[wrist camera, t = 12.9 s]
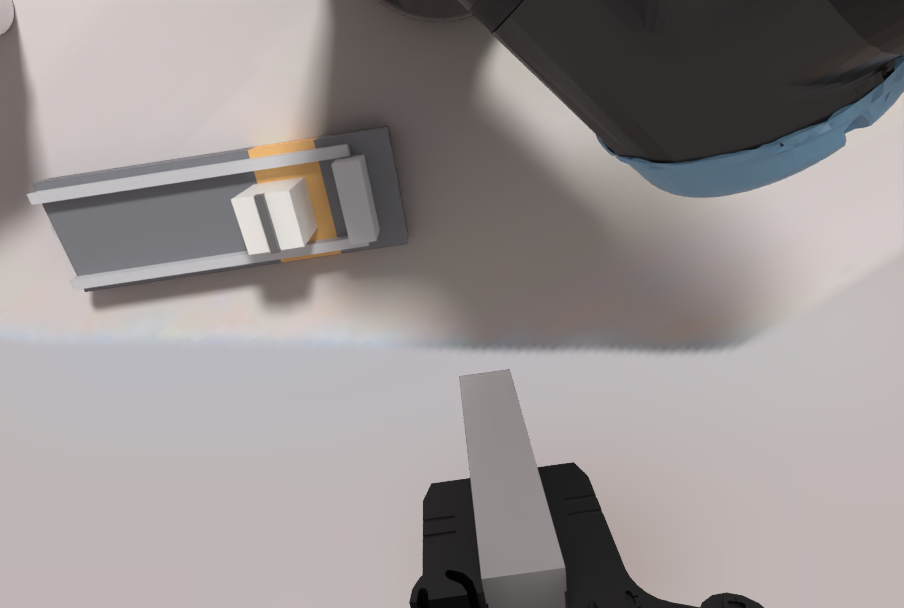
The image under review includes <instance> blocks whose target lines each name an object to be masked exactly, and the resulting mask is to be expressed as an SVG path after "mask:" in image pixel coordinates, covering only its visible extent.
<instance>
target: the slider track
mask: <svg viewBox="0 0 904 608" xmlns="http://www.w3.org/2000/svg"><path fill="white" fill-rule="evenodd" d="M300 177H305V179H306V183H307V187H308V191H309V194H310V198H311V202H312V206H313V210H314V214H315V217H316V221H317V225H318V228H317V229H316V231H315V232H314V233H313V235H312V236H311V238H310V239H309V241H308V242H307V244H306V245H305V247H299V248H292V249H285V250H281V251H280V253H274V254H271V252H265V253H259V254H252V255H249V254H248V251H247V247H246V244H245V241H244V238H243V235H242V232H241V229H240V226H239V223H238V220H237V217H236V214H235V211H234V208H233V205H232V202H231V199H232V198H234V197H235V196H237V195H238V194H240V193H242V192H243V191H245V190H246V189H248V188H249V187H251V186H252V185H254V184H260V183H267V182H273V181H280V180H287V179H293V178H300ZM32 184H33V186H34V188H35V190H36V192H32V193H29V194H27V196H28V198H29V200H30V202H31V204H32V205H35V204H41V203H42V205H43V207H44V209H45V211H46V213H47V215H48V217H49V219H50V221H51V223H52V225H53V227H54V229H55V231H56V233H57V235H58V237H59V239H60V242H61V244H62V246H63V248H64V250H65V252H66V254H67V256H68V258H69V260H70V262H71V264H72V266H73V268H74V270H75V272H76V274H77V277H76V278H74V279H72V280H71V281H70V283H71V285H72V287H73V289H74V290H78V289H84V291H85V292H88V291H95V290H101V289H108V288H115V287H121V286H128V285H135V284H141V283H148V282H155V281H161V280H168V279H175V278H181V277H188V276H195V275H201V274H208V273H215V272H221V271H228V270H235V269H241V268H248V267H255V266H261V265H268V264H275V263H281V262H288V261H295V260H301V259H308V258H315V257H321V256H328V255H335V254H341V253H348V252H355V251H361V250H368V249H375V248H381V247H388V246H395V245H401V244H408V232H407V227H406V221H405V216H404V210H403V205H402V200H401V194H400V189H399V183H398V178H397V172H396V167H395V162H394V156H393V151H392V145H391V140H390V134H389V129H388V126H387V127H381V128H374V129H368V130H361V131H355V132H348V133H342V134H335V135H329V136H322V137H316V138H309V139H303V140H296V141H290V142H283V143H277V144H270V145H264V146H257V147H251V148H244V149H238V150H231V151H225V152H218V153H212V154H205V155H199V156H192V157H186V158H179V159H173V160H166V161H160V162H153V163H147V164H140V165H134V166H127V167H121V168H114V169H108V170H101V171H95V172H88V173H82V174H75V175H69V176H62V177H56V178H50V179H46V180H43V181H39V182H36V183H32Z"/></svg>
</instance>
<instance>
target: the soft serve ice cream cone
mask: <svg viewBox="0 0 904 608" xmlns="http://www.w3.org/2000/svg"><path fill="white" fill-rule="evenodd" d="M13 19H14V8H13V3H12V0H0V35H1V34H3V33H5V32H6V31H7V30H8V29H9V28H10V26H11V25H12V22H13Z"/></svg>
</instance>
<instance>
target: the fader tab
mask: <svg viewBox="0 0 904 608" xmlns="http://www.w3.org/2000/svg"><path fill="white" fill-rule="evenodd" d="M231 202H232V205H233V208H234V211H235V214H236V217H237V220H238V223H239V226H240V229H241V232H242V235H243V238H244V241H245V244H246V247H247V251H248V254H249V255H252V254H259V253H265V252H271V254H274V253H280V251H281V250H285V249H292V248H299V247H305V245H306V244H307V242H308V241H309V239H310V238H311V236H312V235H313V233H314V232H315V231H316V229H317V228H318V225H317V221H316V217H315V214H314V210H313V206H312V202H311V198H310V194H309V191H308V187H307V183H306V179H305V177H300V178H293V179H287V180H280V181H273V182H267V183H260V184H254V185H252V186H251V187H249V188H248V189H246V190H245V191H243V192H242V193H240V194H238V195H237V196H235V197H234V198H232V199H231Z"/></svg>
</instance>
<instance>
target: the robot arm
mask: <svg viewBox="0 0 904 608" xmlns="http://www.w3.org/2000/svg"><path fill="white" fill-rule="evenodd" d="M378 1H379V2H381V3H382V4H384V5H385V6H387V7H388V8H390V9H392V10H394V11H396V12H398V13H400V14H403V15H405V16H408V17H411V18H414V19H419V20H424V21H433V22H445V21H454V20H459V19H463V18H466V17H469V16H472V15H474V16H475V17H476V18H477V19H478V20H479V21H481V22H482V23H483V24H484V25H485V26H486V27H487V28H488V29H489V30H490V32H491V33H492V35H493V36H495V37H496V38H497V39H498V40H499V41H500V42H501V43H502V44H503V45H504V46H505V47H506V48H507V49H508V50H509V51H510V52H511V53H512V54H513V55H514V56H515V57H516V58H517V59H518V60H519V61H520V62H522V63H523V64H524V65H525V66H526V67H527V68H528V69H529V70H530V71H531V72H532V73H533V74H534V75H535V76H536V77H537V78H538V79H539V80H540V81H541V82H542V83H543V84H544V85H545V86H546V87H547V88H549V89H550V90H551V91H552V92H553V93H554V94H555V95H556V96H557V97H558V98H559V99H560V100H561V101H562V102H563V103H564V104H565V105H566V106H567V107H568V108H569V109H570V110H571V111H572V112H573V113H574V114H576V115H577V116H578V117H579V118H580V119H581V120H582V121H583V122H584V123H585V124H586V125H587V126H588V127H589V128H590V129H591V130H592V131H593V132H594V133H595V134H596V136H597V139H598V141H599V142H600V143H601V145H602V146H603V147H604V149H605V150H606V151H607V152H608V153H610V154H611V155H612V156H615V157H617V158H618V159H619V160H620V161H622V162H624V163H627V164H629V165H630V166H631V167H632V168H634V169H635V170H636V171H637V172H638V173H639V174H640V175H642V176H643V177H644V178H645V179H646V180H647V181H649V182H650V183H651V184H652V185H654V186H656V187H658V188H660V189H662V190H664V191H666V192H669V193H671V194H675V195H679V196H685V197H695V198H707V197H720V196H727V195H732V194H737V193H741V192H746V191H750V190H753V189H757V188H760V187H763V186H766V185H769V184H772V183H775V182H777V181H780V180H782V179H785V178H787V177H790V176H792V175H794V174H796V173H798V172H801V171H803V170H805V169H807V168H808V167H810V166H812V165H814V164H816V163H818V162H819V161H821V160H823V159H825V158H826V157H828V156H830V155H831V154H833V153H835V152H836V151H838V150H839V149H840V148H842V147H843V146H845V143H846V136H845V133H847V132H849V131H851V130H854V129H857V128H864V127H868V126H871V125H872V124H873V123H874V122H875V121H877V120H878V119H879V118H880V117H881V116H882V115H883V114H884V113H885V112H886V111H887V110H888V109H889V108H890V107H891V106H892V105H893V104H894V103H895V102H896V101H897V99H898V98H899V97H900V95H901V94H902V93H903V92H904V0H378ZM459 379H460V388H461V397H462V406H463V415H464V424H465V433H466V443H467V452H468V461H469V470H470V478H468V479H461V480H454V481H446V482H440V483H432V484H431V486H430V488H429V490H428V492H427V494H426V496H425V498H424V500H423V575H422V576H421V577H420V578H419V580H418V581H417V583H416V584H415V586H414V587H413V589H412V594H411V598H410V602H409V603H410V607H411V608H764V607H762V605H760V604H759V603H757V602H755V601H753V600H751V599H749V598H747V597H745V596H742V595H737V594H731V593H722V594H717V595H712V596H710V597H709V598H708V599H706V600H705V601H704V602H702V605H701V607H694V606H689V605H683V604H678V603H672V602H668V601H665V600H661V599H658V598H656V597H654V596H652V595H650V594H648V593H646V592H645V591H644V590H643V589H641V588H640V587H639V586H637V585H636V583H635V582H634V581H633V580H632V579H631V578H630V576H629V575H628V573H627V571H626V569H625V567H624V565H623V562H622V560H621V557H620V555H619V552H618V550H617V547H616V545H615V542H614V540H613V537H612V535H611V532H610V530H609V527H608V525H607V522H606V520H605V517H604V515H603V513H602V511H601V507H600V505H599V502H598V500H597V498H596V496H595V493H594V490H593V487H592V485H591V483H590V480H589V477H588V476H587V475H586V474H585V473H584V472H583V471H582V470H581V469H580V468H579V467H578V466H577V465H576V464H575V463H566V464H558V465H551V466H544V467H537V465H536V461H535V458H534V454H533V451H532V447H531V444H530V440H529V436H528V433H527V430H526V426H525V423H524V419H523V415H522V412H521V408H520V404H519V401H518V397H517V394H516V390H515V387H514V383H513V380H512V376H511V373H510V369H508V370H501V371H493V372H487V373H479V374H473V375H465V376H459Z"/></svg>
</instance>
